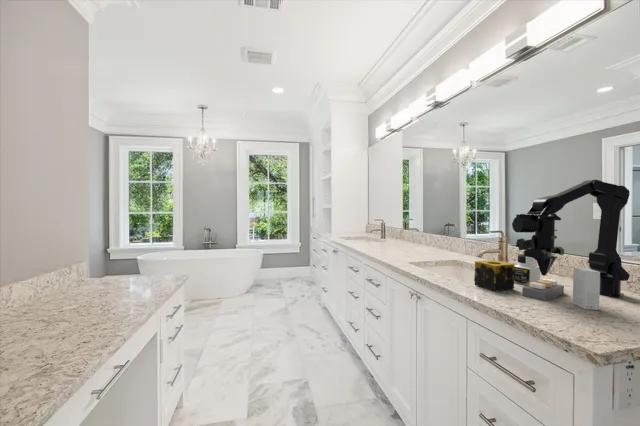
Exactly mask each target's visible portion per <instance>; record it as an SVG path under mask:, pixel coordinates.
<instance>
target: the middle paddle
mask: <svg viewBox="0 0 640 426" xmlns="http://www.w3.org/2000/svg"><path fill="white" fill-rule="evenodd" d="M536 283H541V284H546V287H551V286H552V282H546V281H542V279H540V280H538V281H536Z"/></svg>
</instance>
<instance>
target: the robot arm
mask: <svg viewBox="0 0 640 426" xmlns="http://www.w3.org/2000/svg"><path fill="white" fill-rule="evenodd" d="M587 195H590V196H592V197H594V198H596V204H597V205H598V207H599V208H600V210H601V211H600V221H599V230H598V240H597V249H596V250H594V252H591V251H590V252H589V253H588V261H587V264H588V265H589V269H591V270H595V271H598V272H600V295H604V296H607V297H614V298H621V297H623V296H625V294H624V293H622V292H621V290H622V287H621V286H622V285H621V284H622V282H625V281H629V279H630V276H631V274H630V273H628V271H627V270H625V268H624V267H623V266H622V265H623V264H622V258H621V256H620V255H619V253H618V251H617V247H618V246H617V245H618V235H619V229H620V228H619V227H620V218H621V217H620V216H621V211H622V210H623V209H624V207H626V205H627V204H628V201H629V197H630V190H629V189H628V188H627V187H626V186H625V185H618V184H613V183H609V182H605V181H602V180H600V179H599V180H598V179H588V180H587V179H586V180H584V181H582V182H581V183H580V184H576V185H574V186H572V187H570V188H568V189H566V190H564V191H560V192H559V193H556V194H553V195H547V196H542V197H538V198H536V199H534V201H532V202H533V203H532V205H531V206H530V207H529V209H528V211H527V212H526V213H516V215H515V216H516V217H514V218H513V220H512V223H511V227H512V230H513V231H514V232H515V233H519V234H520V233H525V234H526V233H530V234H531V233H534V234H533V235H531V239H524V238H518V239H516V242H515V247H516V248H518V250H519V251H523V254H524V257H532V258H534V259H535V262H536V263H537V265H538V267H539V269H540V276H544V277H546V276H547V275H548V273H549V271H550V270H551V268H552V266H553V264H554V263H555V261H556V260H557V259H558V256H555V255H556V254H557V255H559V256H563V255H565V249H564V248H563V247H562V246H556V245H555V239H558V235H556V234H555V227H556V225H555V224H556V221H562V218H561V217H560V216H558V215H557V214H556V213H557V212H559V211H561V210H562V209H563V208H564V207H565V206H566V205H567V204H569V203H571V202H573V201H576V200H578V199H580V198H582V197H585V196H587ZM554 254H555V255H554Z"/></svg>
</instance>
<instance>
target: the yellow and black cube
mask: <svg viewBox="0 0 640 426" xmlns="http://www.w3.org/2000/svg"><path fill="white" fill-rule="evenodd" d="M514 265H515V264H514V263H509V262H506V261H501V260H495V259H487V260H477V261H474V278H473V281H474V285H475V286H477V287H479V288H482V289H485V288H486V290H489V291H493V292H502V291H509V290H510V291H511V290H514V289H515V283H514Z"/></svg>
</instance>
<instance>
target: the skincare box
mask: <svg viewBox="0 0 640 426" xmlns="http://www.w3.org/2000/svg"><path fill="white" fill-rule="evenodd" d="M572 271H573V272H572V273H573V275H572V276H573V277H572V278H573V279H572V304H574V305H575V306H577V307H579V308H582V309H584V310H593V311H594V310H595V311H597V310H598V311H600V295H601V294H600V272H598V271H595V270H591V268H587V267H586V268H585V267H573V270H572Z"/></svg>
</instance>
